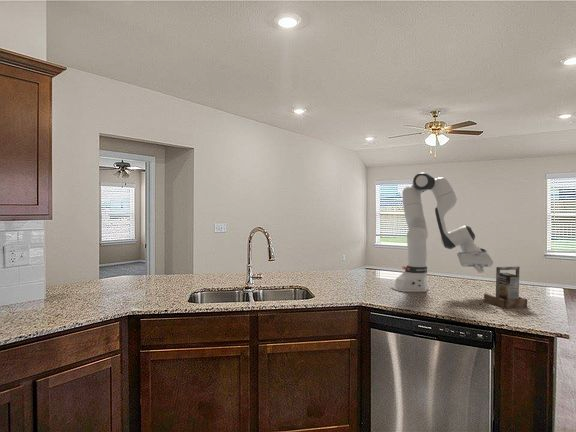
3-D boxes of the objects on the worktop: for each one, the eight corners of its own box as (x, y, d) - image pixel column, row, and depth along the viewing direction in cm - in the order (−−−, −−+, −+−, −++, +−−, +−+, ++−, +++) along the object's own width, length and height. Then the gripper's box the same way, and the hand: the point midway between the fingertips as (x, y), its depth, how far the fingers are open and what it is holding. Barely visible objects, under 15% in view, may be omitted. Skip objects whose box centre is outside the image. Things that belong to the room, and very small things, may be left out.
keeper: (505, 308, 207) (506, 269, 206) (483, 301, 221) (484, 264, 221) (527, 307, 210) (528, 268, 209) (504, 300, 225) (505, 264, 224)
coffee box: (495, 302, 219) (496, 272, 218) (505, 302, 220) (506, 272, 220) (508, 306, 210) (509, 275, 209) (518, 306, 212) (519, 275, 211)
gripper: (458, 249, 238) (468, 268, 229) (488, 249, 243) (499, 269, 234) (453, 255, 243) (463, 274, 233) (482, 256, 248) (493, 275, 239)
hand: (481, 272), depth 234 cm, fingers closed
